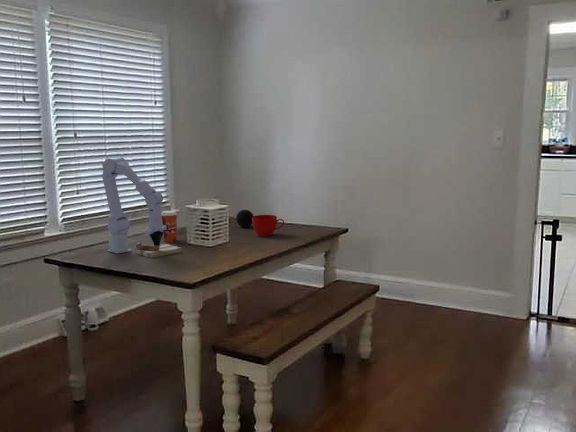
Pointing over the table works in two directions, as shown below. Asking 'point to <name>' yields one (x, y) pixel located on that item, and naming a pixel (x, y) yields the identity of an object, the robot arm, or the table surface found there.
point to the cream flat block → (159, 251)
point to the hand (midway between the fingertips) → (156, 247)
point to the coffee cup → (169, 225)
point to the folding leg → (147, 247)
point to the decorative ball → (244, 218)
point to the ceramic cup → (265, 224)
